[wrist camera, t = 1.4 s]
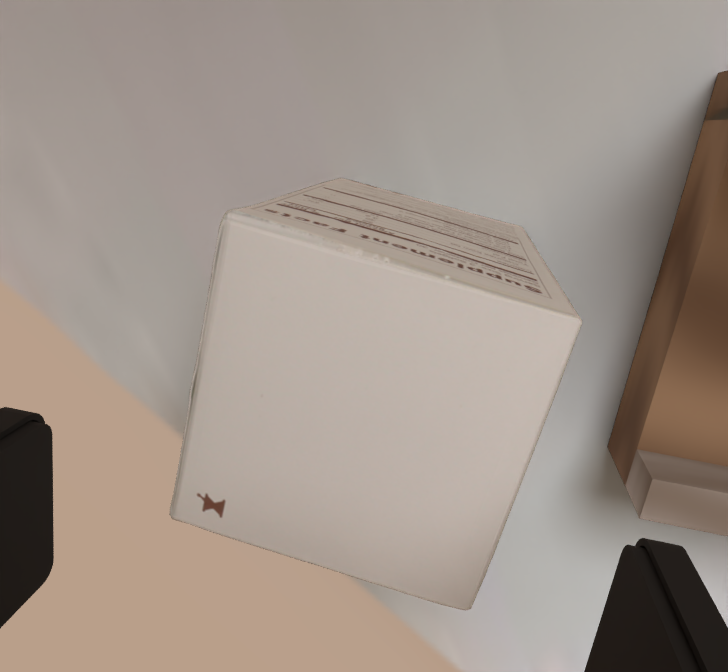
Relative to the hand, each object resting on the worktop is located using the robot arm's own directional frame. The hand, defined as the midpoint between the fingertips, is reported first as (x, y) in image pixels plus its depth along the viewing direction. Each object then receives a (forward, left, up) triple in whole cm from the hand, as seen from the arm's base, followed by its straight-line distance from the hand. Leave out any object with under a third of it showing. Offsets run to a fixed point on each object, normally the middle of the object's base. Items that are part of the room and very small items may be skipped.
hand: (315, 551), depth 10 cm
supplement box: (-1, 0, -16) cm, 16 cm away
